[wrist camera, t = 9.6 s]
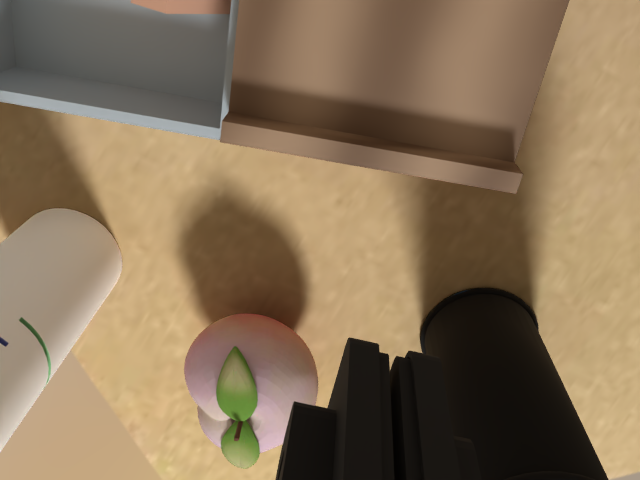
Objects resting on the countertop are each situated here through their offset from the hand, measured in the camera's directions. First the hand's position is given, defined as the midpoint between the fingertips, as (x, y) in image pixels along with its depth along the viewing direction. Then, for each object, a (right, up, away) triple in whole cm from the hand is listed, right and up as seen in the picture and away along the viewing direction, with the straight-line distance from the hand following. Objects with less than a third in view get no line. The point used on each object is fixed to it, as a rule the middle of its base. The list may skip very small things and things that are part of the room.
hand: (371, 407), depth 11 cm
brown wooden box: (+3, +16, +21) cm, 27 cm away
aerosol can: (+10, -4, +31) cm, 33 cm away
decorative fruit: (-5, -4, +32) cm, 32 cm away
